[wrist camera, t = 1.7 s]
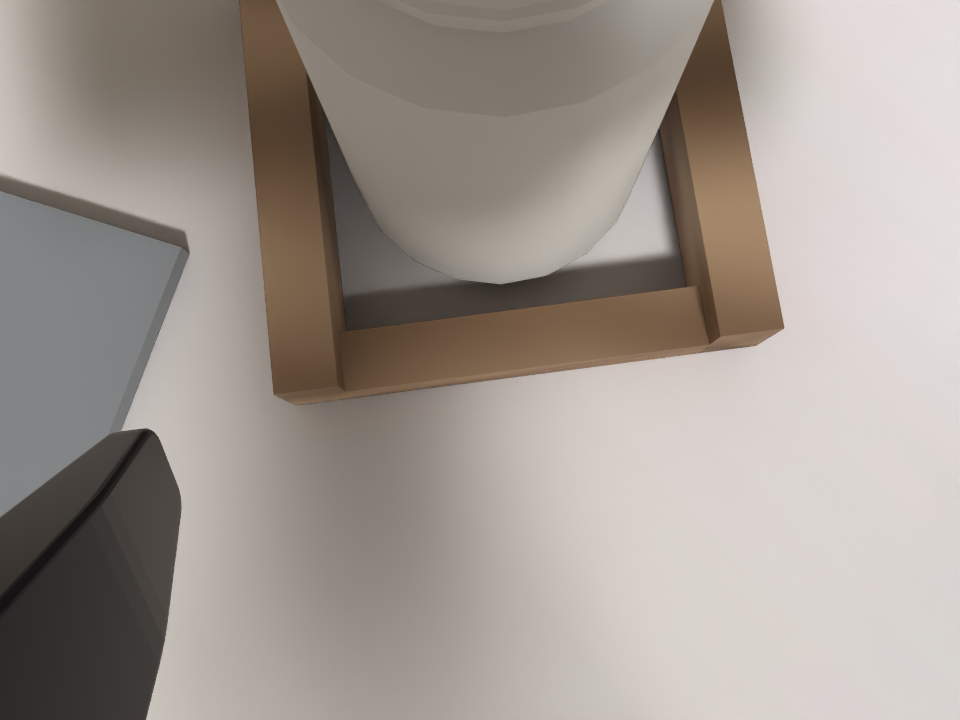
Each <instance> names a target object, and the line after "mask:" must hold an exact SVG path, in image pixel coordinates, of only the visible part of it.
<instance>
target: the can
mask: <svg viewBox="0 0 960 720" xmlns="http://www.w3.org/2000/svg"><path fill="white" fill-rule="evenodd" d="M276 2H277V4H278V7H279V9H280V11H281V13H282V16H283V18H284V20H285V23H286V25H287V27H288V29H289V32H290V34H291V36H292V39H293V41H294V43H295V45H296V48H297V50H298V52H299V55H300V57H301V59H302V61H303V64H304V66H305V68H306V71H307V73H308V75H309V77H310V80H311V82H312V84H313V87H314V89H315V91H316V93H317V96H318V98H319V100H320V103H321V105H322V107H323V109H324V112H325V114H326V116H327V119H328V121H329V123H330V125H331V128H332V130H333V132H334V135H335V137H336V139H337V142H338V144H339V146H340V148H341V151H342V153H343V155H344V158H345V160H346V162H347V164H348V167H349V169H350V171H351V174H352V176H353V178H354V180H355V183H356V185H357V187H358V190H359V192H360V194H361V196H362V197H363V199H364V201H365V203H366V205H367V206H368V208H369V210H370V212H371V214H372V215H373V217H374V219H375V221H376V223H377V224H378V226H379V228H380V230H381V231H382V232H383V233H384V234H385V235H386V236H388V237H389V238H390V239H391V240H392V241H393V242H394V243H395V244H396V245H397V246H399V247H400V248H401V249H402V250H403V251H404V252H405V253H406V254H407V255H408V256H409V257H411V258H412V259H413V260H414V261H416V262H419V263H421V264H423V265H425V266H427V267H430V268H432V269H434V270H436V271H439V272H441V273H443V274H445V275H447V276H450V277H452V278H454V279H459V280H468V281H477V282H485V283H494V284H505V283H511V282H516V281H521V280H526V279H532V278H537V277H542V276H547V275H549V274H550V273H552V272H554V271H556V270H558V269H560V268H561V267H563V266H565V265H567V264H569V263H571V262H573V261H574V260H576V259H578V258H580V257H582V256H584V255H585V254H587V253H588V252H589V251H590V250H591V249H592V248H593V247H594V246H595V244H596V243H597V242H598V241H599V240H600V239H601V238H602V237H603V236H604V235H605V234H606V233H607V232H608V231H609V230H610V229H611V228H612V227H613V225H614V224H615V223H616V222H617V221H618V219H619V217H620V214H621V212H622V210H623V208H624V206H625V204H626V201H627V199H628V197H629V195H630V193H631V191H632V188H633V186H634V184H635V182H636V180H637V177H638V175H639V173H640V170H641V168H642V166H643V163H644V161H645V159H646V157H647V154H648V152H649V150H650V147H651V145H652V143H653V140H654V138H655V136H656V133H657V131H658V129H659V127H660V124H661V122H662V120H663V117H664V115H665V113H666V110H667V108H668V106H669V103H670V101H671V99H672V96H673V94H674V92H675V90H676V87H677V85H678V83H679V80H680V78H681V76H682V73H683V71H684V69H685V66H686V64H687V62H688V60H689V57H690V55H691V53H692V50H693V48H694V46H695V43H696V41H697V39H698V36H699V34H700V32H701V29H702V27H703V25H704V23H705V20H706V18H707V16H708V13H709V11H710V9H711V6H712V4H713V2H714V0H276Z"/></svg>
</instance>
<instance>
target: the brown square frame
mask: <svg viewBox="0 0 960 720" xmlns="http://www.w3.org/2000/svg"><path fill="white" fill-rule="evenodd" d="M239 4H240V15H241V26H242V38H243V49H244V61H245V72H246V83H247V95H248V106H249V118H250V129H251V141H252V152H253V163H254V175H255V186H256V198H257V209H258V221H259V232H260V243H261V255H262V266H263V278H264V289H265V301H266V312H267V323H268V335H269V346H270V358H271V369H272V380H273V392H274V395H276V396H278V397H280V398H282V399H284V400H286V401H288V402H290V403H292V404H294V405H303V404H310V403H318V402H326V401H333V400H341V399H349V398H357V397H364V396H372V395H380V394H387V393H395V392H403V391H411V390H418V389H426V388H434V387H441V386H449V385H457V384H464V383H472V382H480V381H488V380H495V379H503V378H511V377H518V376H526V375H534V374H542V373H549V372H557V371H565V370H572V369H580V368H588V367H595V366H603V365H611V364H619V363H626V362H634V361H642V360H649V359H657V358H665V357H673V356H680V355H688V354H696V353H703V352H711V351H719V350H726V349H734V348H742V347H750V346H756V345H758V344H759V343H761V342H763V341H764V340H766V339H768V338H769V337H771V336H773V335H774V334H776V333H777V332H779V331H781V330H782V329H784V324H783V319H782V313H781V308H780V303H779V298H778V293H777V288H776V282H775V277H774V272H773V267H772V262H771V257H770V251H769V246H768V241H767V236H766V231H765V226H764V220H763V215H762V210H761V205H760V200H759V195H758V189H757V184H756V179H755V174H754V169H753V164H752V158H751V153H750V148H749V143H748V138H747V133H746V127H745V122H744V117H743V112H742V107H741V102H740V96H739V91H738V86H737V81H736V76H735V71H734V65H733V60H732V55H731V50H730V45H729V40H728V34H727V29H726V24H725V19H724V14H723V9H722V3H721V0H714V2H713V4H712V6H711V9H710V11H709V13H708V16H707V18H706V20H705V23H704V25H703V27H702V29H701V32H700V34H699V36H698V39H697V41H696V43H695V46H694V48H693V50H692V53H691V55H690V57H689V60H688V62H687V64H686V66H685V69H684V71H683V73H682V76H681V78H680V80H679V83H678V85H677V87H676V90H675V92H674V94H673V96H672V99H671V101H670V103H669V106H668V108H667V110H666V113H665V115H664V117H663V120H662V122H661V124H660V127H659V131H660V136H661V142H662V148H663V154H664V159H665V165H666V171H667V176H668V182H669V188H670V194H671V199H672V205H673V211H674V216H675V222H676V228H677V234H678V239H679V245H680V251H681V256H682V262H683V268H684V274H685V279H686V285H687V287H684V288H677V289H669V290H661V291H653V292H646V293H638V294H630V295H623V296H615V297H607V298H599V299H592V300H584V301H576V302H569V303H561V304H553V305H545V306H538V307H530V308H522V309H514V310H507V311H499V312H491V313H484V314H476V315H468V316H460V317H453V318H445V319H437V320H430V321H422V322H414V323H406V324H399V325H391V326H383V327H376V328H368V329H360V330H352V331H346V322H345V312H344V303H343V293H342V283H341V274H340V264H339V255H338V245H337V235H336V226H335V216H334V206H333V197H332V187H331V177H330V168H329V158H328V148H327V139H326V129H325V119H324V110H323V107H322V105H321V103H320V100H319V98H318V96H317V93H316V91H315V89H314V87H313V84H312V82H311V80H310V77H309V75H308V73H307V71H306V68H305V66H304V64H303V61H302V59H301V57H300V55H299V52H298V50H297V48H296V45H295V43H294V41H293V39H292V36H291V34H290V32H289V29H288V27H287V25H286V23H285V20H284V18H283V16H282V13H281V11H280V9H279V7H278V4H277V2H276V0H239Z"/></svg>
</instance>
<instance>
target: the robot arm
mask: <svg viewBox="0 0 960 720" xmlns="http://www.w3.org/2000/svg"><path fill="white" fill-rule="evenodd" d="M180 518H181V496H180V491H179V488H178V485H177V483H176V480H175V478H174V475H173V472H172V470H171V467H170V465H169V462H168V460H167V457H166V455H165V452H164V450H163V447H162V445H161V442H160V440H159V438H158V436H157V435H156V434H155V432H153V431H152V430H150V429H146V428H145V429H136V430H129V431H121V432H114V433H111V434H109V435H107V436H106V437H105V438H103V439H102V440H101V441H99V442H98V443H97V444H95V445H94V446H93V447H91V448H90V449H89V450H88V451H86V452H85V453H84V454H82V455H81V456H80V457H78V458H77V459H76V460H74V461H73V462H72V463H70V464H69V465H68V466H67V467H65V468H64V469H63V470H61V471H60V472H59V473H57V474H56V475H55V476H53V477H52V478H51V479H49V480H48V481H47V482H45V483H44V484H43V485H42V486H40V487H39V488H38V489H36V490H35V491H34V492H32V493H31V494H30V495H28V496H27V497H26V498H24V499H23V500H22V501H21V502H19V503H18V504H17V505H15V506H14V507H13V508H11V509H10V510H9V511H7V512H6V513H5V514H3V515H2V516H1V517H0V720H146V717H147V713H148V709H149V705H150V701H151V697H152V693H153V689H154V685H155V681H156V677H157V673H158V669H159V665H160V660H161V656H162V651H163V646H164V642H165V636H166V629H167V623H168V615H169V607H170V599H171V591H172V583H173V574H174V566H175V558H176V550H177V542H178V534H179V526H180Z"/></svg>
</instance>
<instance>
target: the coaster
mask: <svg viewBox="0 0 960 720" xmlns="http://www.w3.org/2000/svg"><path fill="white" fill-rule="evenodd" d="M188 256H189V253H188V252H187V251H185V250H184V249H183V248H182V247H180V246H176V245H173V244H170V243H167V242H163V241H160V240H157V239H154V238H150V237H147V236H144V235H141V234H138V233H134V232H131V231H128V230H125V229H121V228H118V227H115V226H112V225H108V224H105V223H102V222H99V221H96V220H92V219H89V218H86V217H83V216H79V215H76V214H73V213H70V212H66V211H63V210H60V209H57V208H54V207H50V206H47V205H44V204H41V203H37V202H34V201H31V200H28V199H24V198H21V197H18V196H15V195H12V194H8V193H5V192H2V191H0V517H1V516H2V515H3V514H5V513H6V512H7V511H9V510H10V509H11V508H13V507H14V506H15V505H17V504H18V503H19V502H21V501H22V500H23V499H24V498H26V497H27V496H28V495H30V494H31V493H32V492H34V491H35V490H36V489H38V488H39V487H40V486H42V485H43V484H44V483H45V482H47V481H48V480H49V479H51V478H52V477H53V476H55V475H56V474H57V473H59V472H60V471H61V470H63V469H64V468H65V467H67V466H68V465H69V464H70V463H72V462H73V461H74V460H76V459H77V458H78V457H80V456H81V455H82V454H84V453H85V452H86V451H88V450H89V449H90V448H91V447H93V446H94V445H95V444H97V443H98V442H99V441H101V440H102V439H103V438H105V437H106V436H107V435H109V434H111V433H114V432H121V429H122V427H123V424H124V421H125V419H126V416H127V414H128V411H129V409H130V406H131V403H132V401H133V398H134V396H135V393H136V390H137V388H138V385H139V383H140V380H141V378H142V375H143V372H144V370H145V367H146V365H147V362H148V359H149V357H150V354H151V352H152V349H153V347H154V344H155V341H156V339H157V336H158V334H159V331H160V329H161V326H162V323H163V321H164V318H165V316H166V313H167V310H168V308H169V305H170V303H171V300H172V298H173V295H174V292H175V290H176V287H177V285H178V282H179V279H180V277H181V274H182V272H183V269H184V267H185V264H186V261H187V259H188Z"/></svg>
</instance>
